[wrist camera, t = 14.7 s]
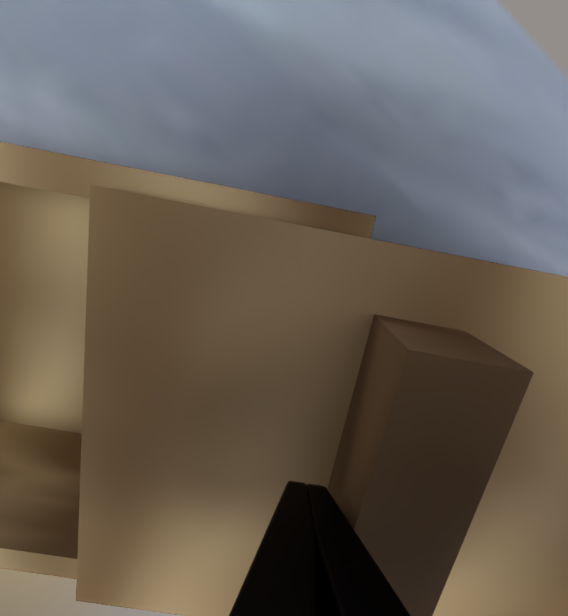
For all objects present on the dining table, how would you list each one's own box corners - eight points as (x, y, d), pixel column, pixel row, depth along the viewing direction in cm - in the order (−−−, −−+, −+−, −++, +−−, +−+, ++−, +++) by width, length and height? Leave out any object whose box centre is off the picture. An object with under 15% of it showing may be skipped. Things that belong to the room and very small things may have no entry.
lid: (92, 570, 10) (18, 704, 7) (111, 188, 7) (3, 167, 4) (535, 634, 10) (623, 779, 8) (712, 305, 8) (948, 350, 5)
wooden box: (-11, 421, 15) (-190, 541, 10) (-24, 148, 12) (-297, 83, 7) (507, 504, 16) (628, 657, 11) (610, 273, 14) (855, 310, 8)
